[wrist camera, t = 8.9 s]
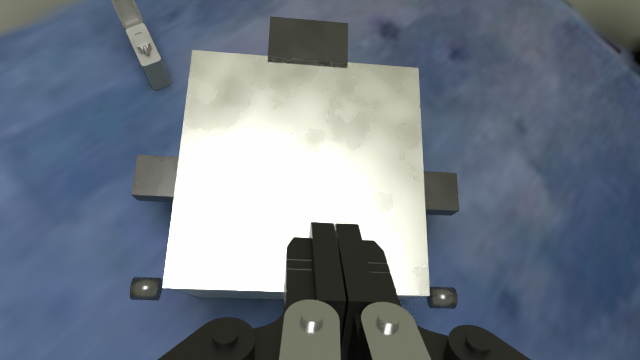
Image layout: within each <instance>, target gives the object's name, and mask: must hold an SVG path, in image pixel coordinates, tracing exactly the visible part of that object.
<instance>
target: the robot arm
mask: <svg viewBox="0 0 640 360" xmlns="http://www.w3.org/2000/svg"><path fill="white" fill-rule="evenodd" d="M283 297H284V299H283V314H282V315H281V316H280V318H279V319H277V320H276V321H275V322H273V323H271V324H269V325H266V326H263V327H259V328H255V329H252V327H251V326H250V325H249V324H247V323H246V322H244V321H243V320H240V319H237V318H230V317H225V318H218V319H215V320H212V321H210V322H208V323H206V324H205V325H203V326H202V327H201V328H199V329H198V330H197V331H195V332H194V333H193V334H191V335H190V336H189V337H187V338H186V339H185V340H183V341H182V342H181V343H179V344H178V345H177V346H175V347H174V348H173V349H171V350H170V351H169V352H167V353H166V354H165V355H163V356H162V357H161V358H159V359H158V360H530V359H529V358H527V357H526V356H524V355H523V354H522V353H520V352H519V351H517V350H516V349H514V348H513V347H511V346H510V345H508V344H507V343H505V342H504V341H502V340H501V339H500V338H498V337H497V336H495V335H494V334H492V333H491V332H489V331H487V330H485V329H483V328H480V327H477V326H473V325H461V326H458V327H456V328H454V329H453V330H452V331H451V332H450V334H449V336H446V335H442V334H439V333H435V332H432V331H429V330H426V329H423V328H421V327H419V326H417V325H416V323H415V321H414V319H413V317H412V316H411V314H410V313H409V312H408V311H407V310H405V309H404V308H402V307H401V305H400V302H399V298H398V295H397V292H396V289H395V285H394V282H393V279H392V276H391V274H390V269H389V266H388V264H387V259H386V256H385V253H384V250H383V249H382V248H381V247H380V246H379V245H378V244H377V243H376V242H375V241H374V240H362V236H361V232H360V228H359V225H358V224H350V223H335V224H334V223H328V222H310V228H309V238H308V237H293V238H292V240H291V241H290V242H289V244H288V245H287V248H286V261H285V275H284V296H283Z"/></svg>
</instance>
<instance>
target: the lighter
mask: <svg viewBox="0 0 640 360" xmlns="http://www.w3.org/2000/svg"><path fill="white" fill-rule="evenodd" d="M111 1H112V3H113V6H114V8H115V10H116V12H117V14H118V16H119V18H120V20H121V22H122V24H123V26H124V28H127V29H126V33H127V35H128V37H129V39H130V41H131V44H132V46H133V48H134V50H135V52H136V54H137V57H138V59H139V61H140V63H141V65H142V67H143V69H144V71H145V73H146V75H147V77H148V79H149V81H150V84H151V86H152V88H153V90H159V89H161V88H164V87H166V86H169V85H170V84H171V82H170V79H169V77H168V74H167V72H166V70H165V67H164V65H163V62H162V60H161V57H160V55H159V53H158V51H157V49H156V47H155V45H154V43H153V41H152V39H151V36H150V34H149V32H148V30H147V28H146V26H145V24H143V19H142V17H141V15H140V12H139V10H138V8H137V6H136V3H135V1H134V0H111Z"/></svg>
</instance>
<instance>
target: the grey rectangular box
mask: <svg viewBox="0 0 640 360" xmlns="http://www.w3.org/2000/svg"><path fill="white" fill-rule="evenodd" d="M178 161H179V157H166V156H148V155H138V156H137V162H136V168H135V175H134V181H133V188H132V194H131V195H132V196H133V197H135V198H136V199H137V200H139V201H160V202H173V201H174V193H175V185H176V177H177V169H178ZM423 172H424V191H425V211H426V214H430V215H450V216H451V215H453V214H455V213H456V212H458V211H459V202H458V188H457V174H456V173H444V172H427V171H423ZM161 290H162V280H161V278H145V277H134V278H133V280H132V282H131V286H130V298H131V299H132V300H159V298H160V295H161ZM178 291H180V292H183V293H186V294H189V295H192V296H195V297H210V298H244V299H279V300H283V299H284V297H283V296H284V293H274V292H241V291H208V290H178ZM429 291H430V296H427V302H428V305H429V307H430V308H450V309H454V308H455V307H456V305H457V293H456V290H455V289H454V288H452V287H429ZM398 298H399V300H401V299H407V298H413V297H406V296H398Z"/></svg>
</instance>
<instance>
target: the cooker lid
mask: <svg viewBox="0 0 640 360" xmlns="http://www.w3.org/2000/svg"><path fill="white" fill-rule="evenodd" d="M310 222H328V223H334V224H335V223H350V224H358V225H359V228H360V232H361V236H362V240H374V241H375V242H376V243H377V244H378V245H379V246H380V247H381V248H382V249H383V250H384V253H385V256H386V259H387V264H388V266H389V269H390V274H391V276H392V279H393V282H394V285H395V289H396V292H397V295H398V296H406V297H427V296H430V291H429V271H428V251H427V231H426V211H425V191H424V172H423V152H422V132H421V112H420V92H419V72H418V68H411V67H398V66H386V65H373V64H361V63H348V23H338V22H327V21H315V20H304V19H293V18H281V17H270V33H269V48H268V56H260V55H248V54H235V53H222V52H210V51H197V50H192V58H191V66H190V74H189V82H188V90H187V98H186V106H185V114H184V122H183V130H182V138H181V146H180V153H179V161H178V169H177V177H176V185H175V193H174V201H173V209H172V217H171V225H170V233H169V241H168V249H167V257H166V265H165V273H164V281H163V288H165V289H175V290H208V291H241V292H274V293H284V275H285V261H286V248H287V245H288V244H289V242H290V241H291V240H292V238H293V237H308V238H309V228H310Z"/></svg>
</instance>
